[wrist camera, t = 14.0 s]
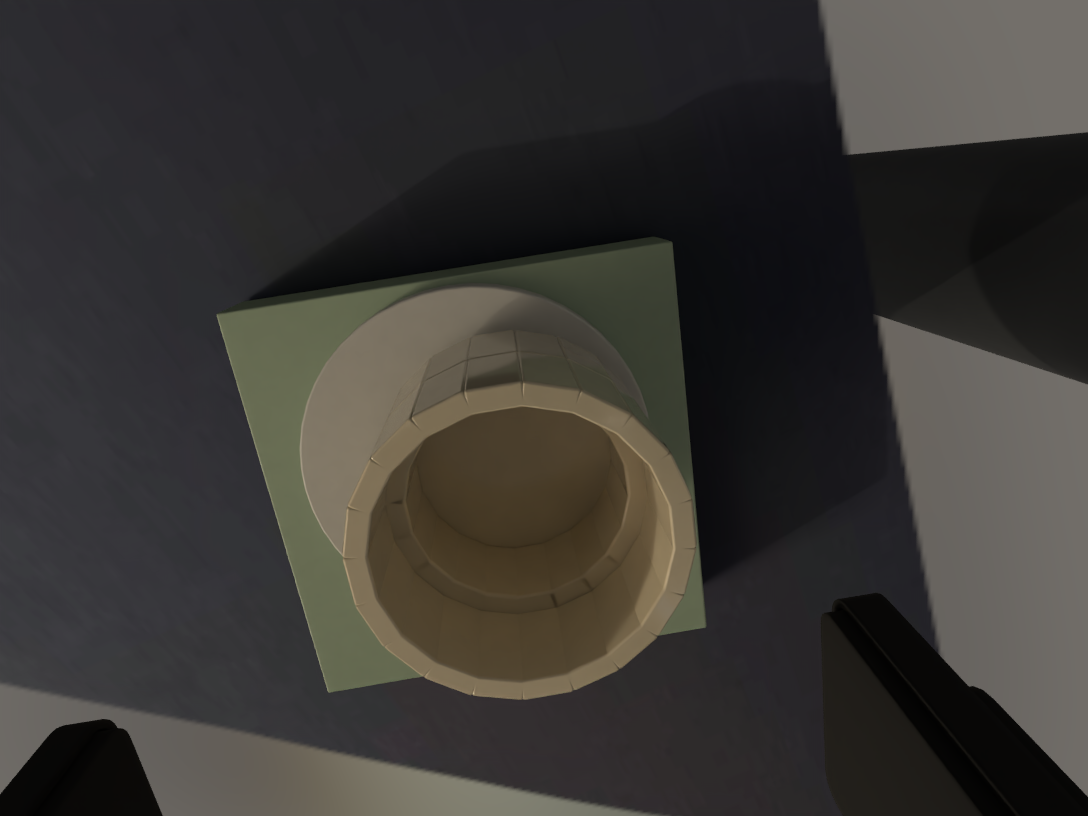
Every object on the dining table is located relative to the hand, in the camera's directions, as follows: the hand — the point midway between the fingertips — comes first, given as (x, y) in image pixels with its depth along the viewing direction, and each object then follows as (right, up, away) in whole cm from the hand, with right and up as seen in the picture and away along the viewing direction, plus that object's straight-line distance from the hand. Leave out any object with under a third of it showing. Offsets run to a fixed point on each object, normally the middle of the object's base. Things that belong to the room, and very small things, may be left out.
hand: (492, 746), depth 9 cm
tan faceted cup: (0, +3, +10) cm, 10 cm away
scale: (-1, +3, +13) cm, 13 cm away
